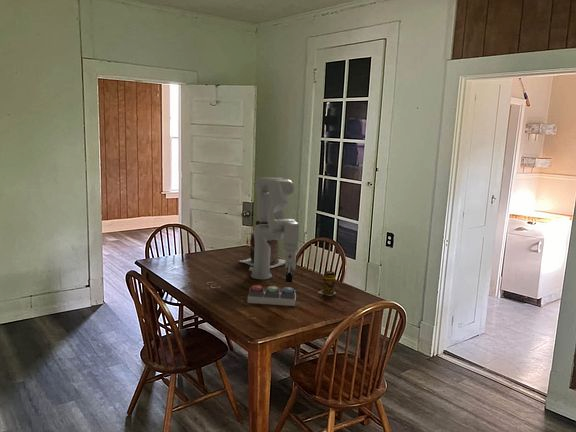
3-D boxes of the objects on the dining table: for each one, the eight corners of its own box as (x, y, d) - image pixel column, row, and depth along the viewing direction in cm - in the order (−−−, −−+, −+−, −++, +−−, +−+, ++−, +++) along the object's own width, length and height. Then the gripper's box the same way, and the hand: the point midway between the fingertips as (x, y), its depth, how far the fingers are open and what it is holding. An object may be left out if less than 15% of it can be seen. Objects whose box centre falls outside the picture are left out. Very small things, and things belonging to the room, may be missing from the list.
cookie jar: (263, 256, 329) (265, 210, 323) (290, 263, 314) (293, 216, 308) (237, 262, 310) (239, 214, 305) (265, 271, 295) (267, 220, 289)
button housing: (247, 302, 239) (247, 292, 238) (249, 296, 249) (250, 286, 248) (295, 305, 238) (295, 295, 237) (295, 299, 248) (296, 288, 247)
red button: (251, 291, 240) (251, 288, 240) (252, 288, 246) (252, 284, 245) (261, 292, 240) (261, 288, 240) (262, 289, 245) (262, 285, 245)
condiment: (331, 296, 255) (332, 274, 253) (317, 293, 259) (318, 271, 257) (336, 292, 261) (338, 271, 259) (322, 289, 266) (324, 268, 263)
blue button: (282, 293, 240) (283, 290, 240) (283, 290, 245) (283, 286, 245) (293, 294, 240) (293, 290, 239) (293, 291, 245) (293, 287, 245)
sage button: (266, 292, 240) (267, 289, 240) (267, 289, 245) (267, 285, 245) (277, 293, 240) (277, 289, 240) (277, 290, 245) (278, 286, 245)
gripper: (297, 250, 231) (296, 286, 234) (298, 243, 245) (296, 277, 248) (282, 249, 231) (280, 285, 234) (283, 242, 246) (282, 277, 249)
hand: (288, 281), depth 241 cm, fingers closed
